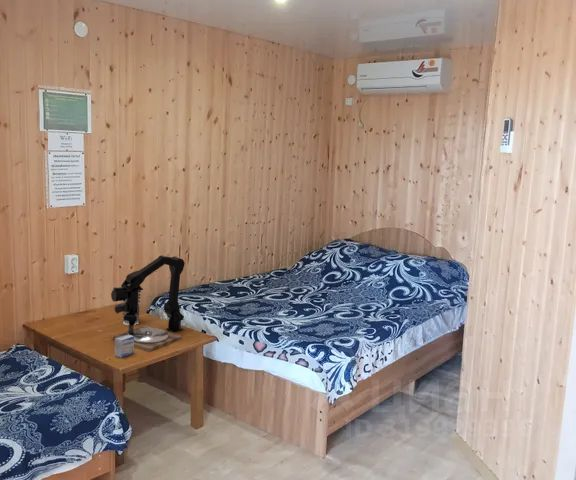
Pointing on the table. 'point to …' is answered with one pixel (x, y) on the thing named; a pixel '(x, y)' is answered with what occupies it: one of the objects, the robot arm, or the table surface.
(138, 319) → the decorative candle
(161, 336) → the dial
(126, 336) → the medicine box
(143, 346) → the walnut stand
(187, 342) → the table surface
